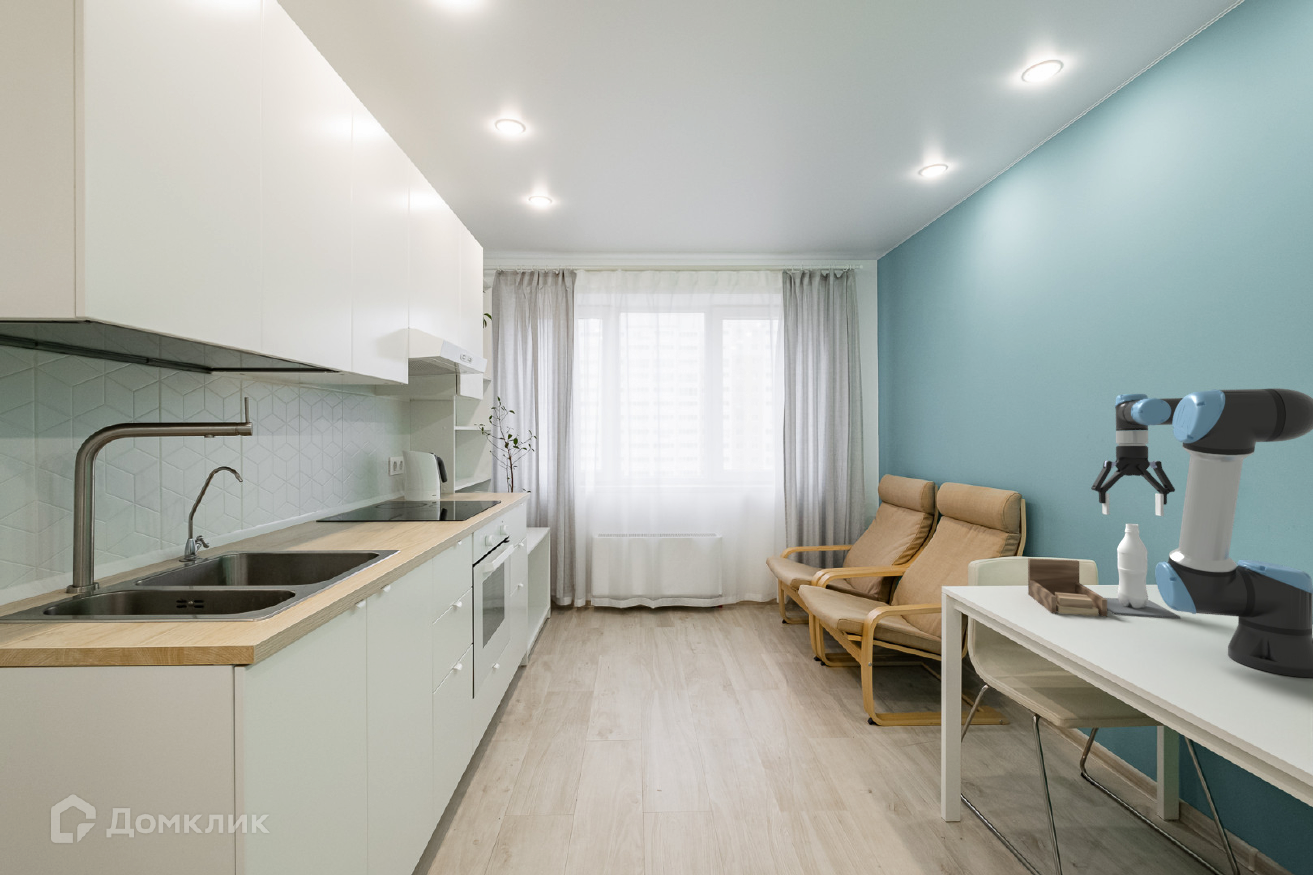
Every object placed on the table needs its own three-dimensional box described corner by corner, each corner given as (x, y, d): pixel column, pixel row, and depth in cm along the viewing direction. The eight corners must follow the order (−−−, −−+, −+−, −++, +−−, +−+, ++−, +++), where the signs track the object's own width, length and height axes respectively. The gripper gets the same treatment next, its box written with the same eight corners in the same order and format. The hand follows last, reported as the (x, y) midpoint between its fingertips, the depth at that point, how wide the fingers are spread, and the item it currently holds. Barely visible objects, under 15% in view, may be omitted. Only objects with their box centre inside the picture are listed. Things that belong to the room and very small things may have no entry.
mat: (1180, 618, 162) (1180, 616, 162) (1114, 614, 167) (1114, 612, 167) (1149, 602, 178) (1149, 600, 178) (1089, 598, 182) (1089, 596, 182)
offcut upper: (1092, 608, 166) (1092, 600, 166) (1059, 605, 169) (1059, 597, 169) (1086, 603, 172) (1086, 594, 172) (1054, 600, 175) (1054, 592, 175)
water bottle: (1154, 609, 169) (1154, 526, 168) (1130, 609, 169) (1129, 526, 168) (1134, 602, 176) (1134, 522, 176) (1111, 602, 176) (1110, 522, 176)
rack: (1107, 616, 165) (1106, 575, 165) (1051, 612, 169) (1051, 573, 169) (1077, 596, 184) (1077, 560, 184) (1028, 594, 188) (1028, 558, 188)
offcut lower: (1098, 617, 166) (1098, 609, 166) (1058, 614, 169) (1058, 606, 169) (1087, 610, 173) (1087, 602, 173) (1049, 607, 176) (1049, 599, 175)
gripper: (1174, 444, 172) (1175, 514, 172) (1078, 445, 179) (1079, 512, 179) (1189, 445, 164) (1190, 517, 165) (1089, 445, 172) (1089, 515, 172)
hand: (1132, 514), depth 172 cm, fingers open, 13 cm apart
